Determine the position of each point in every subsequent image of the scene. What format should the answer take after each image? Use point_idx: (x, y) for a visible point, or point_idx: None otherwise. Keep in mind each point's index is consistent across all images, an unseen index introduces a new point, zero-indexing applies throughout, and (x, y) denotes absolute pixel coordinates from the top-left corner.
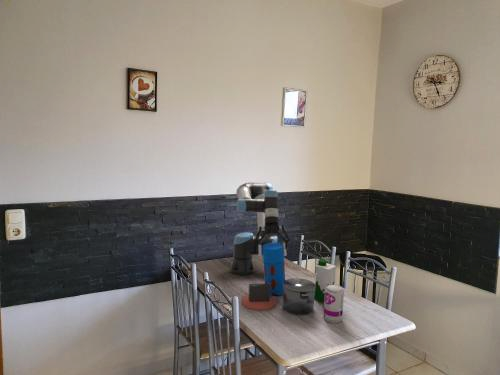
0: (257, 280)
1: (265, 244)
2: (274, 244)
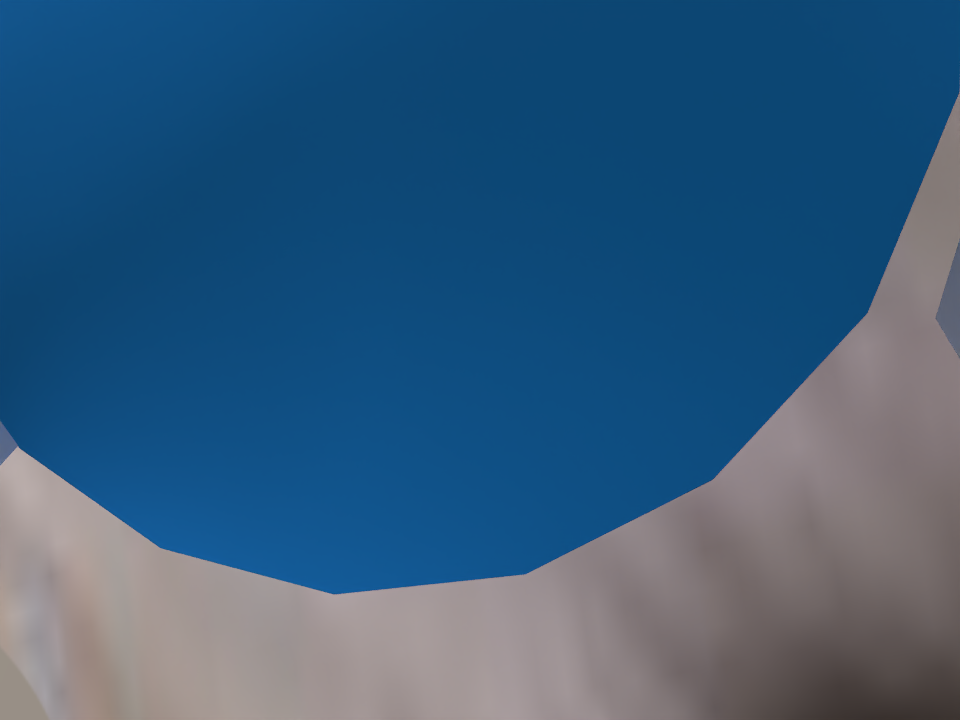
0: (948, 613)
1: (839, 246)
2: (283, 266)
